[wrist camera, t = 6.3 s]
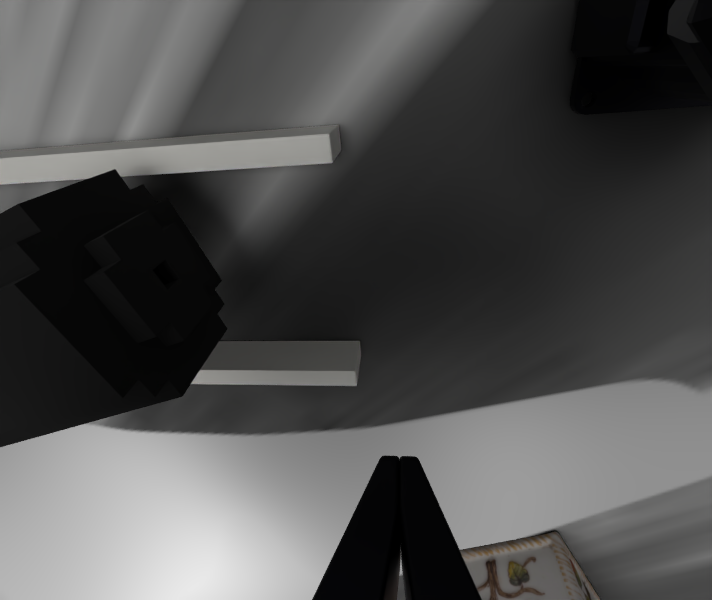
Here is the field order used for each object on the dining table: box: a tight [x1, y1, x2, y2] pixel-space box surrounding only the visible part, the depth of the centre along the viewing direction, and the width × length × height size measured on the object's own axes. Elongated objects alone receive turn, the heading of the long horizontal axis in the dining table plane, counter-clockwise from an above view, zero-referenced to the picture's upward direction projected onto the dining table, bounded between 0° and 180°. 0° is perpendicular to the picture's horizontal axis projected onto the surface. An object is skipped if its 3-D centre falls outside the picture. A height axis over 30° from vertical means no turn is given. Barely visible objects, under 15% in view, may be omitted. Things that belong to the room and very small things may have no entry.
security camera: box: [0, 169, 227, 447], centre depth 17 cm, size 7×18×10 cm, turn 113°
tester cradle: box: [0, 125, 361, 386], centre depth 18 cm, size 24×12×5 cm, turn 94°
